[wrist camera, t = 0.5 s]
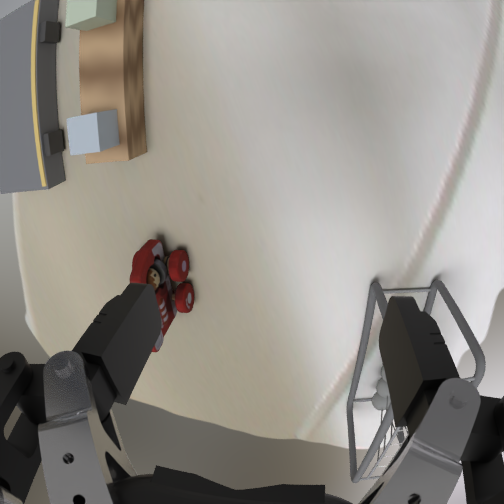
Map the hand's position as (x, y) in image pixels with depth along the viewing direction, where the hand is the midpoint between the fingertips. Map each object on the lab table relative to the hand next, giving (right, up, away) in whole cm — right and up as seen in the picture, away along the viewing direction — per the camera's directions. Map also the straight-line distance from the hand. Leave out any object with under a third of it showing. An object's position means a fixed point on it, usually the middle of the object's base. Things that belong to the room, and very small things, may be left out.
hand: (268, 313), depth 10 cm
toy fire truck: (-12, -1, +33) cm, 35 cm away
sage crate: (-17, +28, +13) cm, 35 cm away
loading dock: (-33, +25, +22) cm, 47 cm away
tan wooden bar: (-16, +24, +20) cm, 36 cm away
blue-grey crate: (-17, +15, +19) cm, 30 cm away
